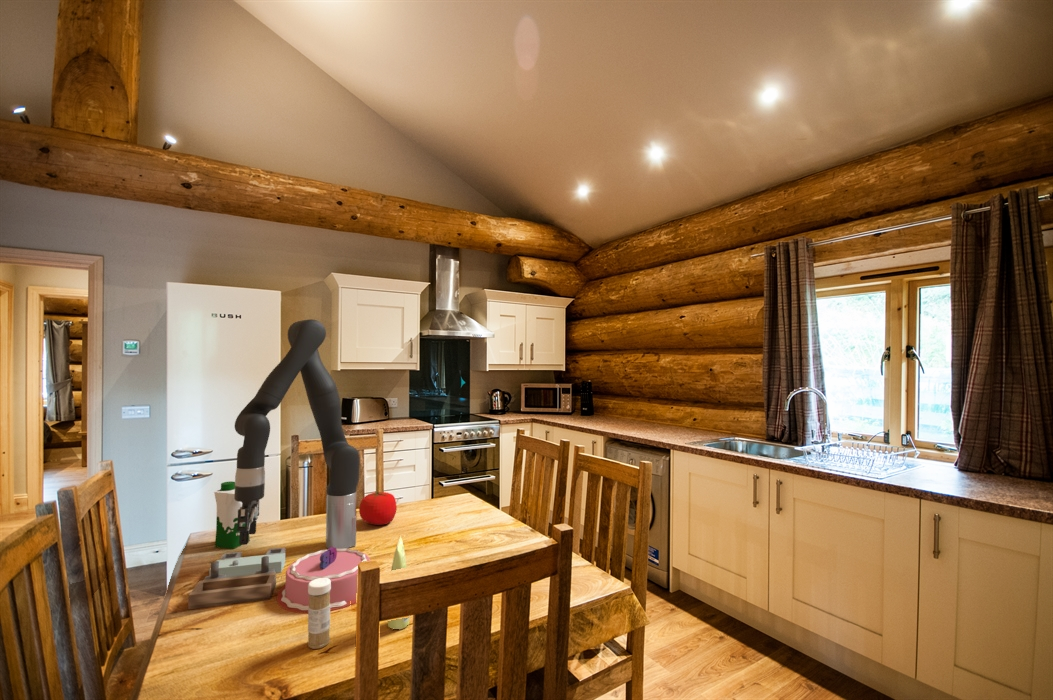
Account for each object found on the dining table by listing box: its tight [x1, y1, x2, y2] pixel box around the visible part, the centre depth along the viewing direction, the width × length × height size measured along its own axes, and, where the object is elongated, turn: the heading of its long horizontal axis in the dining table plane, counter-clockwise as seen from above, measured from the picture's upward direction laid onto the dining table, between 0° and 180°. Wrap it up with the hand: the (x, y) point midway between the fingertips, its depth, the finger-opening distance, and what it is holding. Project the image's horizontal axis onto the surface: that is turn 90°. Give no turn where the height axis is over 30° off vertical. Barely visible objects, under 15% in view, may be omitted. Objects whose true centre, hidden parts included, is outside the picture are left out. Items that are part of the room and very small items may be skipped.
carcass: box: [187, 556, 277, 610], centre depth 127 cm, size 18×10×7 cm, turn 107°
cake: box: [276, 547, 371, 614], centre depth 130 cm, size 25×25×11 cm
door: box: [208, 547, 286, 578], centre depth 142 cm, size 18×11×4 cm, turn 107°
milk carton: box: [213, 480, 251, 550], centre depth 160 cm, size 9×9×20 cm
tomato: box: [358, 491, 397, 526], centre depth 181 cm, size 13×14×12 cm
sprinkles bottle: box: [307, 578, 331, 650], centre depth 106 cm, size 5×5×14 cm
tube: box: [387, 535, 410, 630], centre depth 114 cm, size 6×5×20 cm
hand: (247, 538), depth 140 cm, fingers open, 8 cm apart
